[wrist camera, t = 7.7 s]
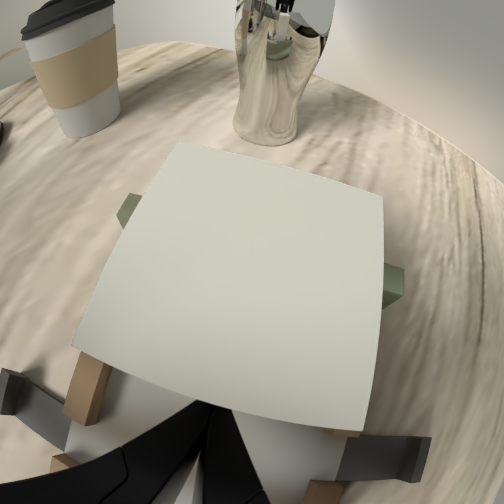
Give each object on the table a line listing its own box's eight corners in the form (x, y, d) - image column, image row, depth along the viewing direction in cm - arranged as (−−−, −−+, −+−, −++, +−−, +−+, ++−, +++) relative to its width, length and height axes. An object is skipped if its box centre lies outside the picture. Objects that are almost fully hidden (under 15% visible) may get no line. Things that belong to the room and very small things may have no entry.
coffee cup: (146, 109, 25) (132, -24, 12) (72, 157, 21) (25, 14, 8) (107, 90, 27) (90, -15, 14) (45, 128, 23) (10, 20, 10)
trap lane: (336, 608, 5) (358, 634, 1) (1, 508, 6) (-34, 516, 2) (427, 314, 17) (468, 290, 13) (87, 219, 18) (63, 177, 14)
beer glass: (249, 157, 22) (275, -25, 9) (215, 115, 25) (223, -32, 12) (315, 141, 24) (361, -8, 11) (276, 103, 27) (301, -26, 14)
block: (274, 409, 13) (362, 430, 4) (164, 378, 13) (71, 345, 5) (298, 307, 16) (382, 196, 7) (198, 279, 16) (178, 141, 7)
